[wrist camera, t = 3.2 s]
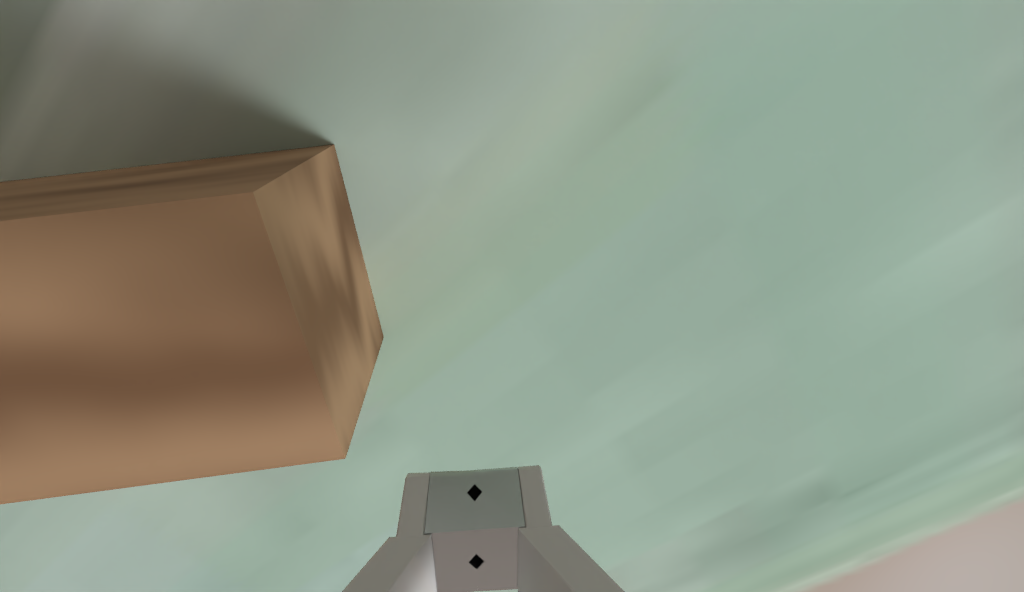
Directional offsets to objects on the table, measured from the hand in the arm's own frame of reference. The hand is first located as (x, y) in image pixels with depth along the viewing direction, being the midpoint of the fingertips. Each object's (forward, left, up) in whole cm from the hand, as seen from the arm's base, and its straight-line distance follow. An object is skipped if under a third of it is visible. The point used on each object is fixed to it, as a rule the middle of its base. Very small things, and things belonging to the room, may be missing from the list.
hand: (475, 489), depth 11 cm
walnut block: (-1, -13, -12) cm, 18 cm away
